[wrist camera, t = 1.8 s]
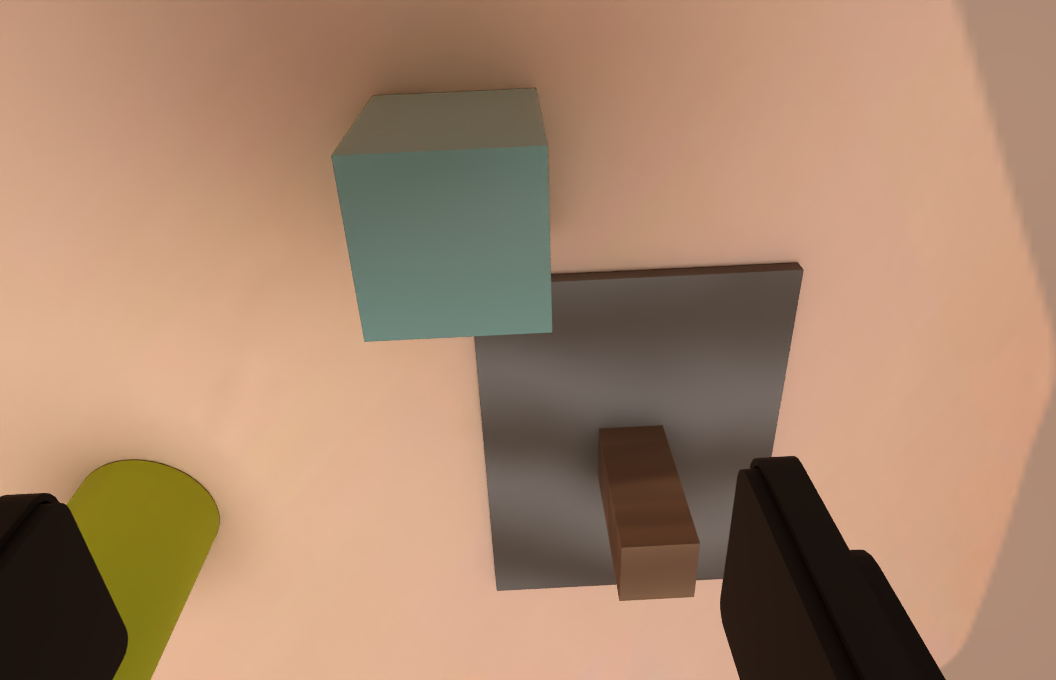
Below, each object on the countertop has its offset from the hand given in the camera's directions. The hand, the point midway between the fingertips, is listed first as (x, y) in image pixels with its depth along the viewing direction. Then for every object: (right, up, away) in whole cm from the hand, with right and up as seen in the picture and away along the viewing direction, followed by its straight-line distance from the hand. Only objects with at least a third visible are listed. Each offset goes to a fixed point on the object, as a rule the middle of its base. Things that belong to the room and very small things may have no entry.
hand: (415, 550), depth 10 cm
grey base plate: (+6, -1, +20) cm, 21 cm away
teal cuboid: (-1, +9, +14) cm, 17 cm away
